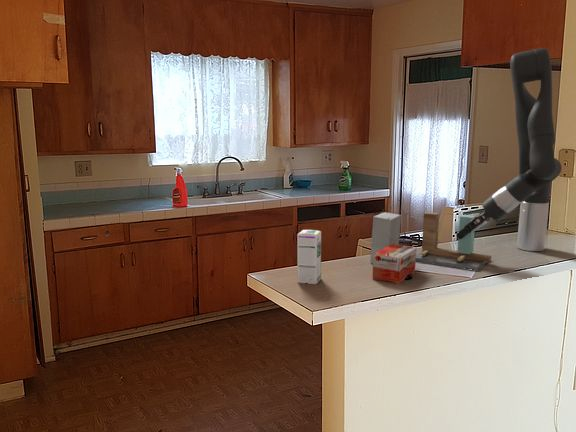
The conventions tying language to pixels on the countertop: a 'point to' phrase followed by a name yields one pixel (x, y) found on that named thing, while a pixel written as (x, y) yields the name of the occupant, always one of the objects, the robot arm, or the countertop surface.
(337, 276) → the countertop surface
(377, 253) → the medicine box
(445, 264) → the flange plate
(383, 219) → the skincare box
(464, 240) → the block
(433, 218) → the wooden l-shaped stand
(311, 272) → the syrup box
